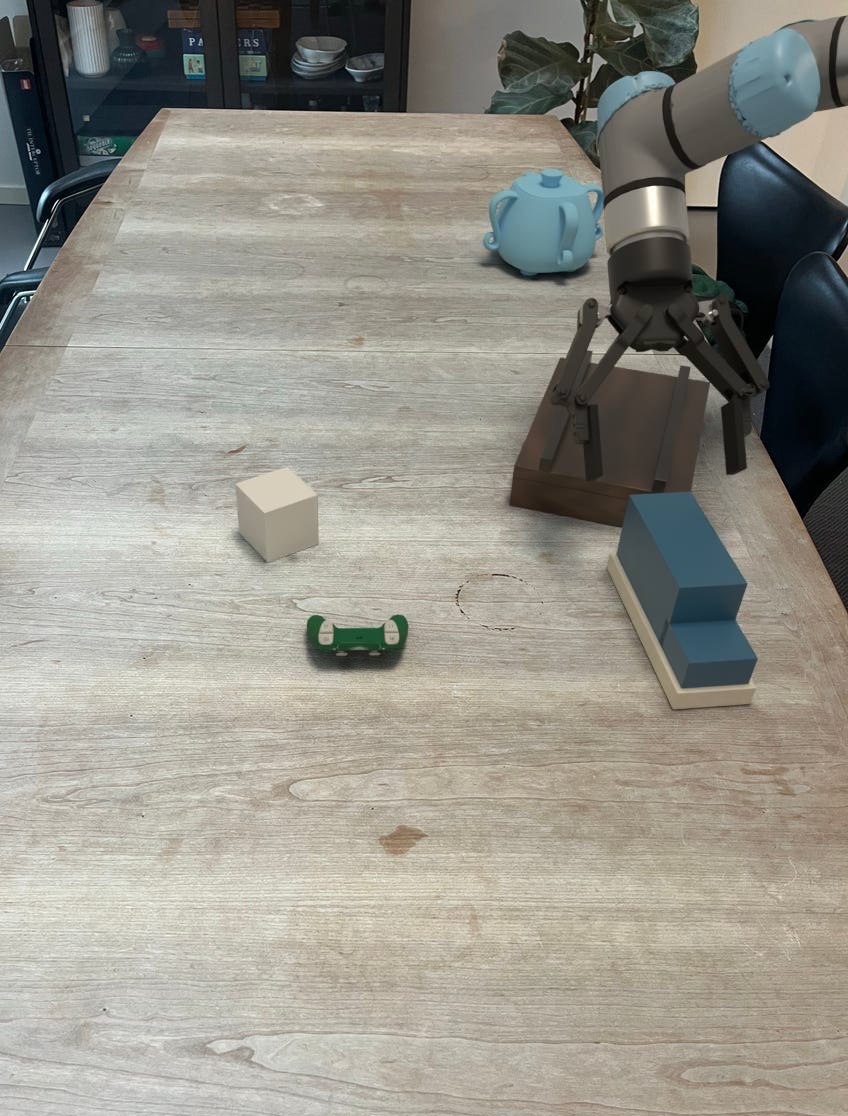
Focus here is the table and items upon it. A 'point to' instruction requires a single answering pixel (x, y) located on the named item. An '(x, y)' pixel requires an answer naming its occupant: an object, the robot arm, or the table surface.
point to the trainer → (684, 601)
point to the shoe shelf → (613, 445)
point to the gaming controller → (357, 636)
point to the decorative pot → (545, 223)
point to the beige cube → (277, 514)
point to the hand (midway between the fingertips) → (666, 475)
